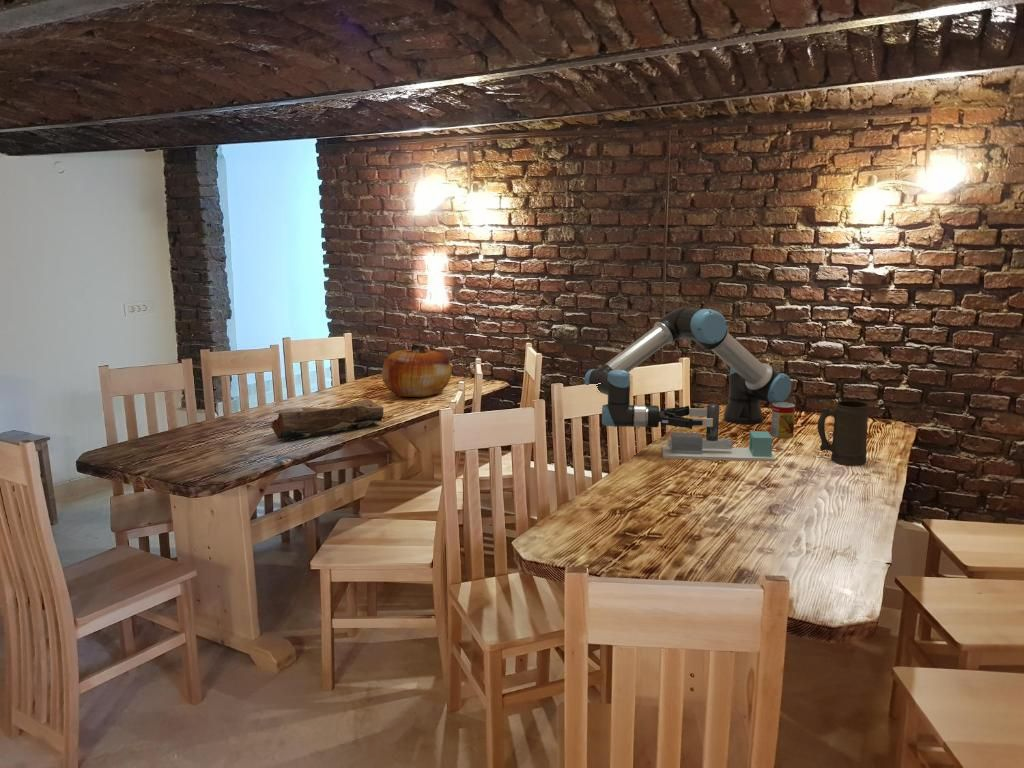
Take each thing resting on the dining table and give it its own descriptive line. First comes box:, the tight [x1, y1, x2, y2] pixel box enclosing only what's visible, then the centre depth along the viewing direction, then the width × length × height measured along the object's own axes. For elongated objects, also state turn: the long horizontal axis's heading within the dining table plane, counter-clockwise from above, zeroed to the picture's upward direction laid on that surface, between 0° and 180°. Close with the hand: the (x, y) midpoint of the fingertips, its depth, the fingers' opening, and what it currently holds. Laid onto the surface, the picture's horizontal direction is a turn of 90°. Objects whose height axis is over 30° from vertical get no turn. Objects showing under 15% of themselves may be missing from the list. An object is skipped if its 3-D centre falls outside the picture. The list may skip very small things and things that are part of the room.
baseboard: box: [661, 445, 777, 463], centre depth 254 cm, size 36×12×1 cm, turn 81°
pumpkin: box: [381, 343, 453, 398], centre depth 355 cm, size 33×33×25 cm
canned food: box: [770, 401, 796, 440], centre depth 274 cm, size 8×8×12 cm
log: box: [270, 398, 384, 441], centre depth 292 cm, size 42×18×15 cm, turn 125°
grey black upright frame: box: [667, 403, 733, 450], centre depth 253 cm, size 21×4×15 cm, turn 81°
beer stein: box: [817, 400, 870, 467], centre depth 242 cm, size 15×11×20 cm
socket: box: [748, 430, 773, 457], centre depth 251 cm, size 6×8×6 cm
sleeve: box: [670, 431, 703, 454], centre depth 254 cm, size 10×6×6 cm, turn 81°
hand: (710, 417), depth 251 cm, fingers open, 13 cm apart
